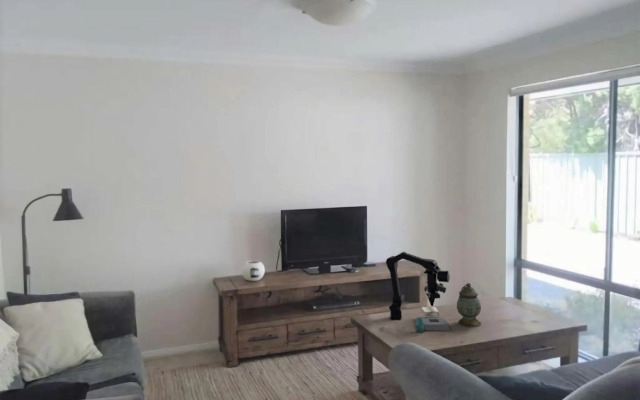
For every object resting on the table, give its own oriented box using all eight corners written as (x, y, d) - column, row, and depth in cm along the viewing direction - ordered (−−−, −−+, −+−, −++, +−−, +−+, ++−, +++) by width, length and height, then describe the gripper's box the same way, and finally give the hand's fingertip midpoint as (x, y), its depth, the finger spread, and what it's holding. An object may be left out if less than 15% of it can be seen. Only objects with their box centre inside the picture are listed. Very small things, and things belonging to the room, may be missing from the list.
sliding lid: (424, 316, 304) (424, 311, 304) (421, 312, 313) (421, 307, 313) (438, 316, 304) (438, 311, 304) (435, 311, 313) (435, 307, 313)
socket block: (424, 330, 290) (424, 324, 290) (420, 322, 304) (420, 317, 304) (448, 330, 290) (448, 324, 290) (443, 322, 304) (443, 316, 304)
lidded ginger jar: (482, 327, 292) (482, 286, 290) (457, 326, 295) (457, 285, 293) (479, 320, 306) (479, 280, 304) (456, 319, 309) (455, 280, 307)
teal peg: (417, 333, 287) (417, 319, 286) (415, 330, 291) (415, 317, 290) (424, 332, 286) (423, 319, 286) (422, 330, 290) (422, 317, 290)
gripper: (448, 284, 292) (448, 310, 293) (441, 276, 310) (441, 301, 311) (429, 284, 292) (430, 310, 293) (423, 277, 310) (424, 301, 312)
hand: (432, 305), depth 302 cm, fingers closed
